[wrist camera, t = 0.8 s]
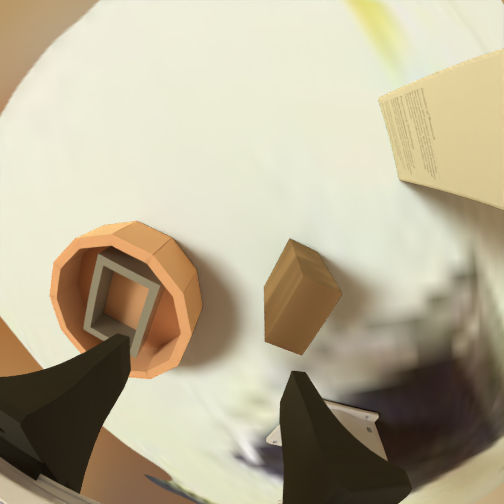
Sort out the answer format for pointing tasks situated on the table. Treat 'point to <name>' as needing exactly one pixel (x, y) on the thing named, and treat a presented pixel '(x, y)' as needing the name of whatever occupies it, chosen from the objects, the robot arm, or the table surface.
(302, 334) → the wooden rectangular peg
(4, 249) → the table surface
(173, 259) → the faceted orange bowl
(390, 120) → the skincare box
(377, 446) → the robot arm
